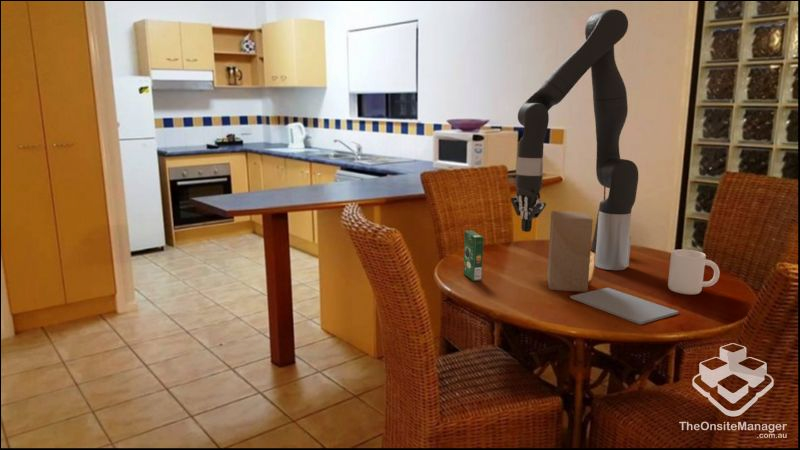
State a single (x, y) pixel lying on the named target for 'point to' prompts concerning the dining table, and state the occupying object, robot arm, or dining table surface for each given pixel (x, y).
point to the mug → (689, 271)
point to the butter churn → (596, 231)
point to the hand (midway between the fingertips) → (526, 231)
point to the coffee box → (473, 255)
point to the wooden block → (569, 251)
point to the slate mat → (624, 305)
